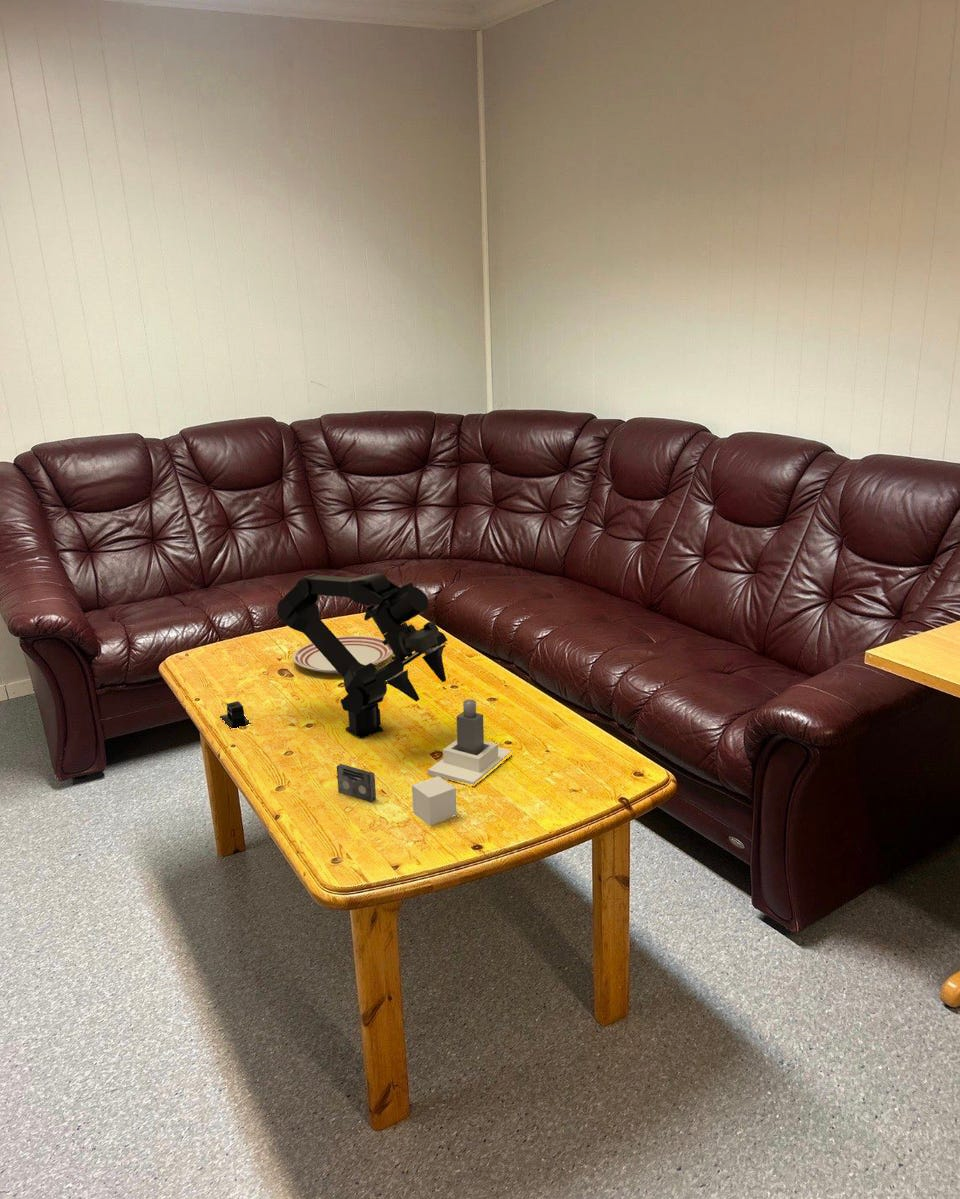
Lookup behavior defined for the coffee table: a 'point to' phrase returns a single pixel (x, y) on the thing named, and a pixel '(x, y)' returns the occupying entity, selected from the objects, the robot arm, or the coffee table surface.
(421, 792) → the gray cube
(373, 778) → the mini dv tape
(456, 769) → the socket board
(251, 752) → the coffee table surface
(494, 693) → the coffee table surface
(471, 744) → the plug
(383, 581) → the robot arm
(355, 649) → the dinner plate
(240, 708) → the black boxy piece
